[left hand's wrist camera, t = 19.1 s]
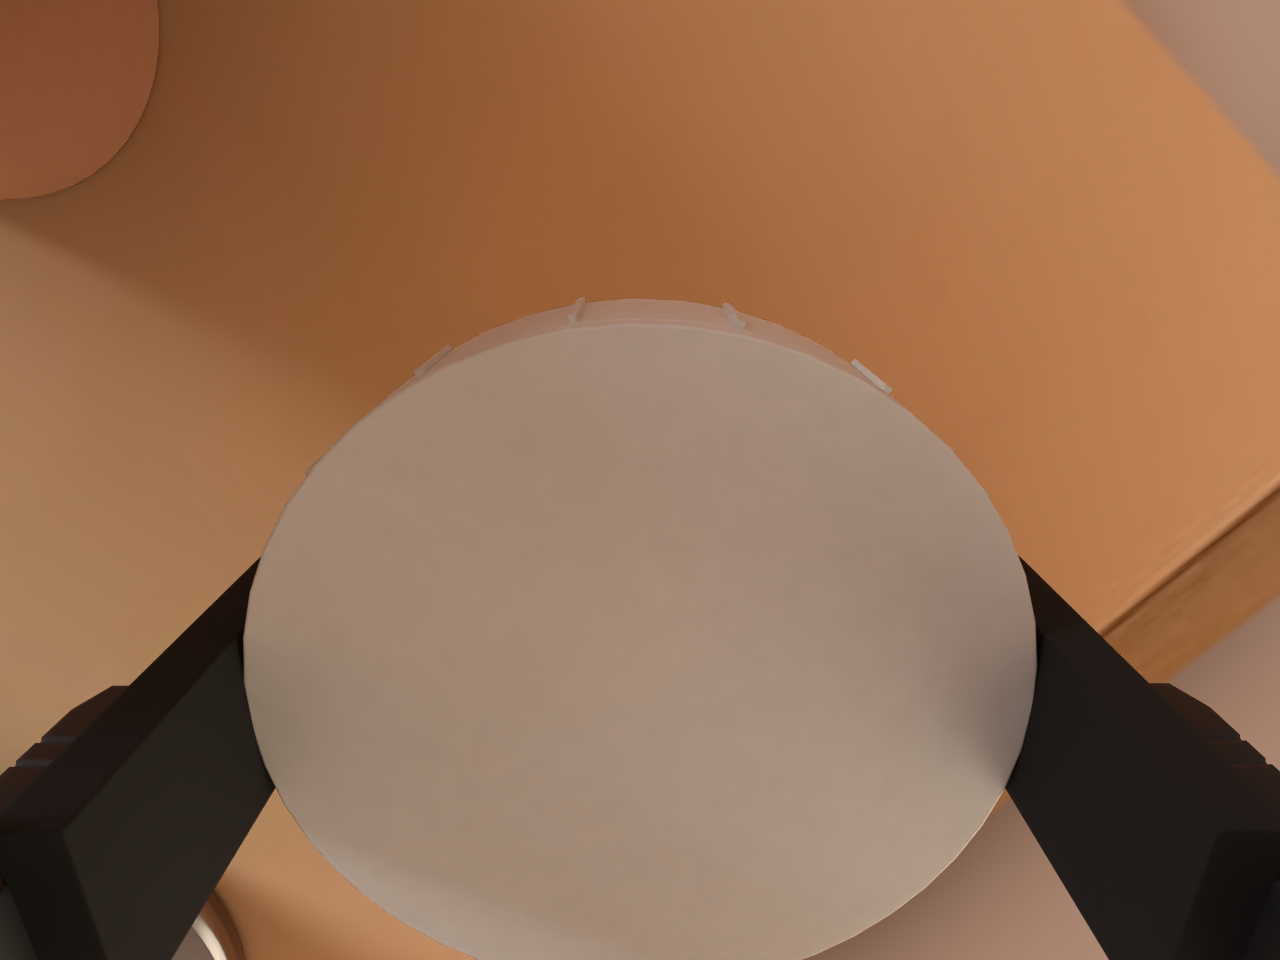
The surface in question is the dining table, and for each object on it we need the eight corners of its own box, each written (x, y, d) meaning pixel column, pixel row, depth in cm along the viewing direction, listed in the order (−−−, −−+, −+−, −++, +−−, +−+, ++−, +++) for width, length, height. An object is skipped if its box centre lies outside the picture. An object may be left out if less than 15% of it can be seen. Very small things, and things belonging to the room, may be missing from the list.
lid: (1123, 511, 12) (1222, 578, 10) (750, 954, 15) (767, 1070, 13) (475, 141, 10) (433, 130, 8) (217, 742, 13) (143, 840, 11)
